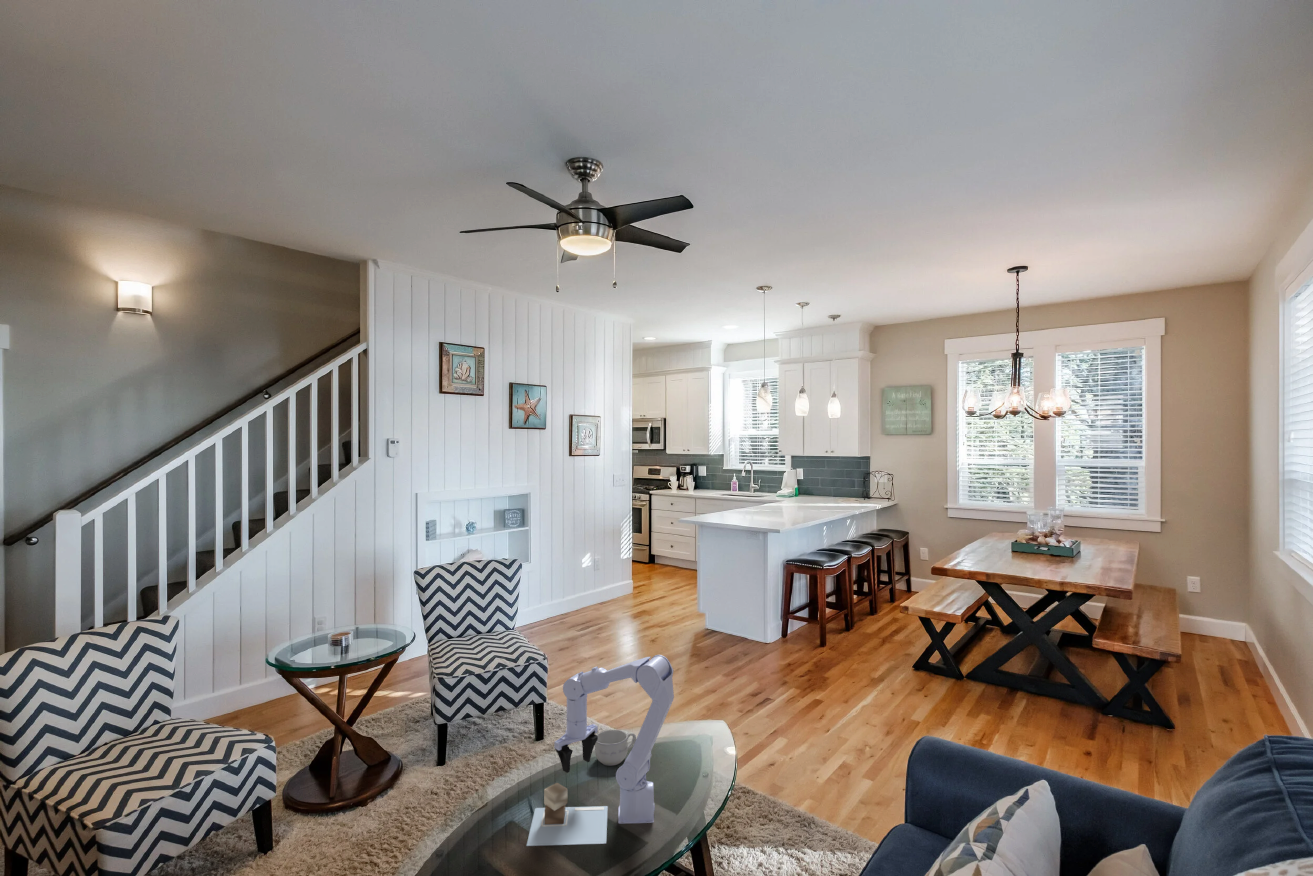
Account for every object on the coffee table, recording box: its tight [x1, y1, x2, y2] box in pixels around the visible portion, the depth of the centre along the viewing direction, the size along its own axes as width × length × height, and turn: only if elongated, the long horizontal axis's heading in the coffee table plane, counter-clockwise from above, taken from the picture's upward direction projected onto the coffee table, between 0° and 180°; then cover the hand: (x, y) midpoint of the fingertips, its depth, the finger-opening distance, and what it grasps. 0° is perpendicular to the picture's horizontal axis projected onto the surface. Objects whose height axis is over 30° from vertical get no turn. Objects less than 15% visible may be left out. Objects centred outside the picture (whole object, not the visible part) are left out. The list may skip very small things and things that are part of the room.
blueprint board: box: [525, 805, 609, 847], centre depth 164 cm, size 20×16×1 cm
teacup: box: [594, 729, 637, 767], centre depth 199 cm, size 14×11×8 cm
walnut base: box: [544, 805, 566, 824], centre depth 167 cm, size 5×5×4 cm
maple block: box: [543, 782, 569, 811], centre depth 167 cm, size 4×4×4 cm
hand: (576, 766), depth 176 cm, fingers open, 7 cm apart
